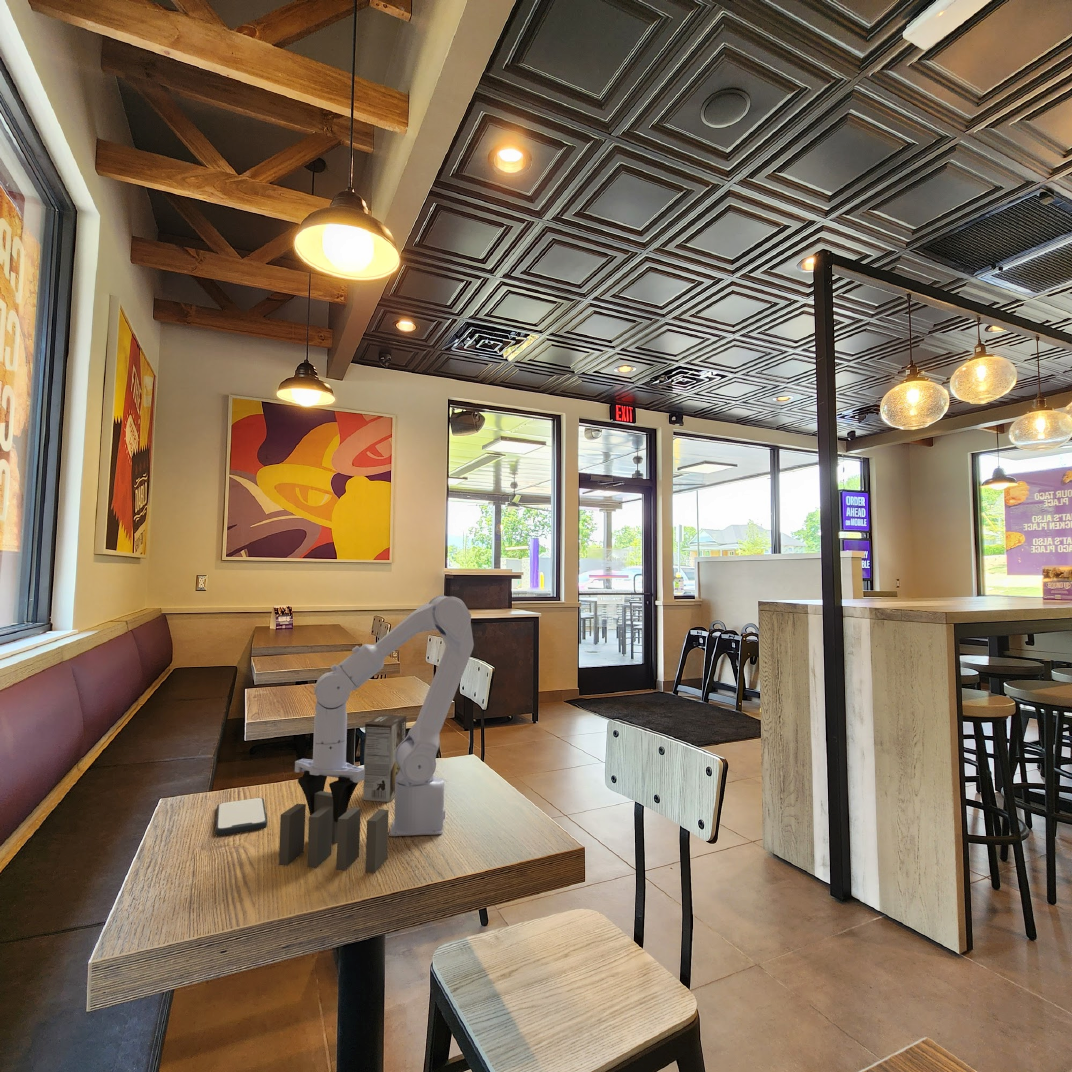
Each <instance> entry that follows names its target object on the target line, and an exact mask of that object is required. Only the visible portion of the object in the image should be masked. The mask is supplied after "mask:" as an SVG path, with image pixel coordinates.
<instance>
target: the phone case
mask: <svg viewBox="0 0 1072 1072" xmlns="http://www.w3.org/2000/svg"><path fill="white" fill-rule="evenodd" d="M215 816H216V818H215V821H214V822H215V824H214V825H215V836H216V835H217V837H225V836H231V835H232V836H233V835H237V833H238V834H243V833H249V832H256V831H261V829H262V830H264V828H265V829H266V828H267V827H268V815H267V812H266V807H265V801H264V798H263V797H255V798H247V799H240V800H234V801H233V800H232V801H226V802H221V803H219V804H217V806H216V815H215Z"/></svg>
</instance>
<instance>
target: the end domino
mask: <svg viewBox="0 0 1072 1072" xmlns="http://www.w3.org/2000/svg"><path fill="white" fill-rule="evenodd" d="M324 805H325V806H333V798H332V793H331V791H329V792H328V791H319V792H317V793H315V794H314V813H315V812H316V811H317V810H319V809H320V808H321V807H323V806H324ZM337 829H338V822H334V817H333V820H332V845H337Z"/></svg>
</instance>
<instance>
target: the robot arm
mask: <svg viewBox="0 0 1072 1072" xmlns="http://www.w3.org/2000/svg"><path fill="white" fill-rule="evenodd" d="M471 620H472V614H471V613H470V610H469V609H468V607H467V606H466V604H465V602H464V601H463V600H462V599H461V598H458V597H456V596H446V595H438V596H434V597H433V598H432V599H430V601H429V602H428V603H427V602H426V603H424V604H422V605H421V606H419V607H418V608H417V609H415V610H414V611H413V612H411V613H410V614H409V615H408V616H406V617H405V618H404V619H403V620H401V622H399V623H398V624H397V625H396V626H395V627H394V628H392V629H391V630H390V631H389V632H388V633H386V634H385V635H384V636H383V637H382V638H381V639H379V640H378V641H377V642H375V644H368V643H364V644H362V645H361V646H358V645H356V646H355V647H353V648H352V649H351V651H352V652H353V653H351V654H349V655H348V657H346V658H345V659H344V660H342V661H341V662H340V663H338V664H337V665H336V664H333V665H331V667H330V669H331V671H329V672H325V673H323V674H322V675H321V676H320V677H319V678H318V679H317V680H316V683H315V686H314V688H313V691H314V695H315V698H316V702H315V703H316V704H315V706H314V711H315V714H314V717H313V719H314V720H313V723H314V724H313V746H312V748H313V749H312V759H310V758H309V759H308V758H301V759H298V760H295V761H294V773H301V772H302V773H303V774H302V776H300V777H298V778H297V783H298V784H299V786H300V788H301V789H302V791H303V794H304V796H305V799H306V805H307V808H308V811H309V812H308V813H309V816H311V815H312V814H313V813H314V794H315V793H317V792H319V791H324V790H325V788H326V787H325V786H326V781H327V778H328V777H331V778H335V779H336V778H337V780H335V781H331V782H330V783H329V784H328V787H329V789H330V793H332V798H333V817H334V822H338V818H339V817H341V816H342V815H343V814H344V813H345V812H347V811H348V808H349V805H350V801H351V798H352V797H353V796H352V795H353V794H354V792H355V789H356V788H357V786H358V784H359V783H360V782H362V781H364V776H365V769H364V767H363V768H362V767H359V766H356V765H353V764H351V763H349V762H347V737H348V736H347V735H348V734H347V733H348V713H347V701H348V700H349V698H350V695H351V692H353V691H356V690H358V689H359V688H360V687H361V686H363V685H364V684H365V683H366V682H368V680H369V681H370V679H371V678H373V677H374V676H375V675H376V674H377V673H379V672H380V671H381V670H382V669H383V668H384V666H385V665H384V664H385V658H387V657H388V656H389V655H391V654H392V653H393V652H394V651H396V650H397V649H399V648H400V647H401V646H403V645H404V644H406V643H407V642H408V641H409V640H411V639H412V638H413V637H414V636H416V635H417V634H419V633H422V632H430V631H431V632H432V631H436V630H437V631H438V632H439V634H440V637H441V639H442V641H443V643H444V644H445V649H444V652H443V654H442V656H441V660H440V661H439V664H438V667H437V669H436V671H435V674H434V676H433V679H432V682H431V684H430V686H429V689H428V692H427V693H426V696H425V699H424V702H423V703H422V706H421V708H420V711H419V713H418V716H417V718H416V721H415V723H414V724H413V725H412V726H411V727H410V728H409V730H408V733H407V734H406V738H405V739H404V740H403V741H402V742H401V743H400V744H399V745H398V747H397V749H396V752H395V759H396V762H397V764H398V766H399V767H400V770H399V772H398V774H397V775H396V777H395V798H394V813H393V814H394V819H393V821H392V825H391V827H390V831H389V836H390V837H401V836H404V837H405V836H407V837H409V836H427V835H428V836H430V835H432V836H433V835H434V836H435V835H441V834H443V829H444V820H445V819H446V809H445V778H442V777H441V778H439V777H435V774H434V773H435V772H436V768H437V753H438V751H439V747H440V733H441V731H442V728H443V726H444V723H445V721H446V719H447V715H448V713H449V712H450V711H449V710H450V707H451V705H452V702H453V700H454V698H455V696H456V692H457V690H458V687H459V685H460V683H461V680H462V677H463V675H464V673H465V670H466V667H467V664H468V663H469V660H470V657H471V655H472V652H473V650H474V647H475V644H474V638H473V631H472V623H471Z"/></svg>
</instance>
